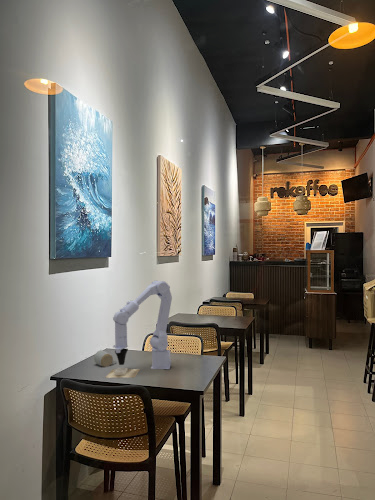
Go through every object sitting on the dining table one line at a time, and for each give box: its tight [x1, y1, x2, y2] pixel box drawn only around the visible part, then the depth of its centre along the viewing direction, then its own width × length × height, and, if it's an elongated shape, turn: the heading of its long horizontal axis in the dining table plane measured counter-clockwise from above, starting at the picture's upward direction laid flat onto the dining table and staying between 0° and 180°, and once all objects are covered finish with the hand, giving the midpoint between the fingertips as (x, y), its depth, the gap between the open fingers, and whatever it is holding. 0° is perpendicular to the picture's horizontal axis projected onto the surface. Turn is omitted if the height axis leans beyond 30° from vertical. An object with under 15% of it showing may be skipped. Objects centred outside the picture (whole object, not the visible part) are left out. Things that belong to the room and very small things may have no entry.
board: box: [104, 368, 141, 379], centre depth 194 cm, size 14×14×1 cm
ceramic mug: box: [93, 349, 117, 368], centre depth 212 cm, size 11×8×8 cm
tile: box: [114, 367, 129, 375], centre depth 194 cm, size 5×2×6 cm
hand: (121, 364), depth 196 cm, fingers closed
